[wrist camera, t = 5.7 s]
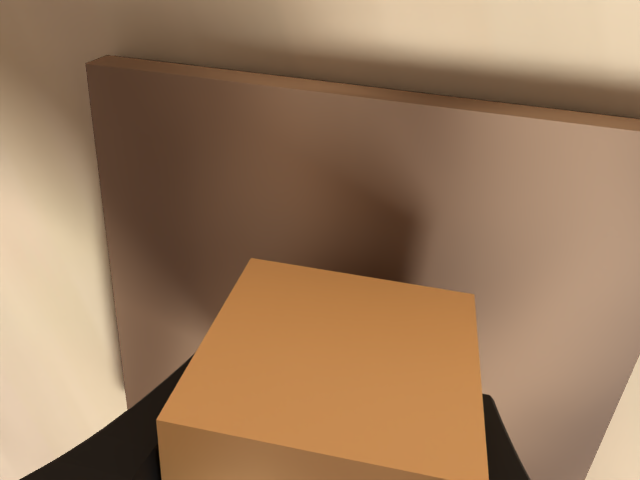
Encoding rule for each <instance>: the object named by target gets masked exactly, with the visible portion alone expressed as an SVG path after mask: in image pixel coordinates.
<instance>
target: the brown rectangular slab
mask: <svg viewBox="0 0 640 480" xmlns="http://www.w3.org/2000/svg"><path fill="white" fill-rule="evenodd" d="M86 72H87V80H88V88H89V96H90V105H91V113H92V121H93V129H94V137H95V146H96V154H97V162H98V170H99V179H100V187H101V195H102V203H103V212H104V220H105V228H106V236H107V245H108V253H109V261H110V269H111V277H112V286H113V294H114V302H115V310H116V319H117V327H118V335H119V343H120V352H121V360H122V368H123V376H124V385H125V393H126V401H127V409H130V408H131V407H132V406H134V405H135V404H136V403H137V402H139V401H140V400H141V399H142V398H144V397H145V396H146V395H147V394H148V393H150V392H151V391H152V390H153V389H154V388H156V387H157V386H158V385H159V384H160V383H162V382H163V381H164V380H165V379H166V378H167V377H169V376H170V375H171V374H172V373H173V372H174V371H176V370H177V369H178V368H179V367H180V366H181V365H182V364H183V363H185V362H186V361H187V360H188V359H189V358H190V357H191V356H192V355H193V354H194V353H196V351H197V349H198V347H199V346H200V344H201V342H202V341H203V339H204V337H205V335H206V334H207V332H208V330H209V329H210V327H211V325H212V324H213V322H214V320H215V318H216V317H217V315H218V313H219V312H220V310H221V308H222V306H223V305H224V303H225V301H226V300H227V298H228V296H229V294H230V293H231V291H232V289H233V288H234V286H235V284H236V283H237V281H238V279H239V277H240V276H241V274H242V272H243V271H244V269H245V267H246V265H247V264H248V262H249V260H250V259H251V258H255V259H261V260H267V261H273V262H279V263H286V264H292V265H298V266H304V267H310V268H316V269H322V270H329V271H335V272H341V273H347V274H353V275H359V276H365V277H371V278H378V279H384V280H390V281H396V282H402V283H408V284H414V285H421V286H427V287H433V288H439V289H445V290H451V291H457V292H463V293H470V294H474V296H475V309H476V321H477V334H478V347H479V360H480V372H481V385H482V394H487V395H490V396H491V397H492V398H493V400H494V401H495V404H496V407H497V409H498V412H499V414H500V417H501V419H502V422H503V424H504V426H505V428H506V431H507V433H508V435H509V437H510V439H511V442H512V444H513V446H514V448H515V450H516V452H517V454H518V456H519V458H520V460H521V462H522V464H523V466H524V468H525V470H526V472H527V474H528V476H529V478H530V480H585V478H586V476H587V473H588V471H589V469H590V466H591V464H592V462H593V460H594V457H595V455H596V453H597V451H598V448H599V446H600V444H601V441H602V439H603V437H604V435H605V432H606V430H607V428H608V425H609V423H610V421H611V419H612V416H613V414H614V412H615V409H616V407H617V405H618V403H619V400H620V398H621V396H622V394H623V391H624V389H625V387H626V384H627V382H628V380H629V378H630V375H631V373H632V371H633V368H634V366H635V364H636V362H637V359H638V357H639V355H640V119H635V118H626V117H618V116H610V115H601V114H593V113H585V112H576V111H568V110H560V109H551V108H543V107H535V106H526V105H518V104H510V103H501V102H493V101H485V100H476V99H468V98H460V97H451V96H443V95H435V94H426V93H418V92H410V91H402V90H393V89H385V88H377V87H368V86H360V85H352V84H343V83H335V82H327V81H318V80H310V79H302V78H293V77H285V76H277V75H268V74H260V73H252V72H243V71H235V70H227V69H218V68H210V67H202V66H193V65H185V64H177V63H169V62H160V61H152V60H144V59H135V58H127V57H119V56H110V55H106V56H104V57H101V58H98V59H96V60H93V61H91V62H88V63H86Z"/></svg>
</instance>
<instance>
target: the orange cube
mask: <svg viewBox="0 0 640 480" xmlns="http://www.w3.org/2000/svg"><path fill="white" fill-rule="evenodd" d="M156 424H157V435H158V446H159V457H160V468H161V479H162V480H489V474H488V461H487V449H486V436H485V423H484V411H483V398H482V385H481V372H480V360H479V347H478V334H477V321H476V309H475V296H474V294H470V293H463V292H457V291H451V290H445V289H439V288H433V287H427V286H421V285H414V284H408V283H402V282H396V281H390V280H384V279H378V278H371V277H365V276H359V275H353V274H347V273H341V272H335V271H329V270H322V269H316V268H310V267H304V266H298V265H292V264H286V263H279V262H273V261H267V260H261V259H255V258H251V259H250V260H249V262H248V264H247V265H246V267H245V269H244V271H243V272H242V274H241V276H240V277H239V279H238V281H237V283H236V284H235V286H234V288H233V289H232V291H231V293H230V294H229V296H228V298H227V300H226V301H225V303H224V305H223V306H222V308H221V310H220V312H219V313H218V315H217V317H216V318H215V320H214V322H213V324H212V325H211V327H210V329H209V330H208V332H207V334H206V335H205V337H204V339H203V341H202V342H201V344H200V346H199V347H198V349H197V351H196V353H195V354H194V356H193V358H192V359H191V361H190V363H189V365H188V366H187V368H186V370H185V371H184V373H183V375H182V376H181V378H180V380H179V382H178V383H177V385H176V387H175V388H174V390H173V392H172V394H171V395H170V397H169V399H168V400H167V402H166V404H165V406H164V407H163V409H162V411H161V412H160V414H159V416H158V417H157V419H156Z"/></svg>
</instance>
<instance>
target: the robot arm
mask: <svg viewBox="0 0 640 480" xmlns="http://www.w3.org/2000/svg"><path fill="white" fill-rule="evenodd" d="M194 354H195V353H194ZM194 354H193V355H192V356H191V357H190V358H189V359H188V360H187V361H186V362H185V363H183V364H182V365H181V366H180V367H179V368H178V369H177V370H176V371H174V372H173V373H172V374H171V375H170V376H169V377H167V378H166V379H165V380H164V381H163V382H162V383H160V384H159V385H158V386H157V387H156V388H154V389H153V390H152V391H151V392H150V393H148V394H147V395H146V396H145V397H144V398H142V399H141V400H140V401H139V402H137V403H136V404H135V405H134V406H132V407H131V408H130V409H128V410H127V411H126V412H124V413H123V414H122V415H120V416H119V417H118V418H116V419H115V420H114V421H112V422H111V423H110V424H108V425H107V426H106V427H104V428H103V429H101V430H100V431H99V432H97V433H96V434H94V435H93V436H91V437H90V438H88V439H87V440H85V441H84V442H82V443H81V444H79V445H78V446H76V447H75V448H73V449H71V450H70V451H68V452H67V453H65V454H64V455H62V456H60V457H59V458H57V459H55V460H54V461H52V462H50V463H48V464H47V465H45V466H43V467H41V468H40V469H38V470H36V471H34V472H32V473H31V474H29V475H27V476H25V477H23V478H22V479H20V480H162V479H161V468H160V457H159V446H158V435H157V424H156V419H157V417H158V416H159V414H160V412H161V411H162V409H163V407H164V406H165V404H166V402H167V400H168V399H169V397H170V395H171V394H172V392H173V390H174V388H175V387H176V385H177V383H178V382H179V380H180V378H181V376H182V375H183V373H184V371H185V370H186V368H187V366H188V365H189V363H190V361H191V359H192V358H193V356H194ZM482 398H483V411H484V423H485V436H486V449H487V461H488V474H489V480H530V478H529V476H528V474H527V472H526V470H525V468H524V466H523V464H522V462H521V460H520V458H519V456H518V454H517V452H516V450H515V448H514V446H513V444H512V442H511V439H510V437H509V435H508V433H507V431H506V428H505V426H504V424H503V422H502V419H501V417H500V414H499V412H498V409H497V407H496V404H495V401H494V400H493V398H492V397H491V396H490V395H487V394H482Z"/></svg>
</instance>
